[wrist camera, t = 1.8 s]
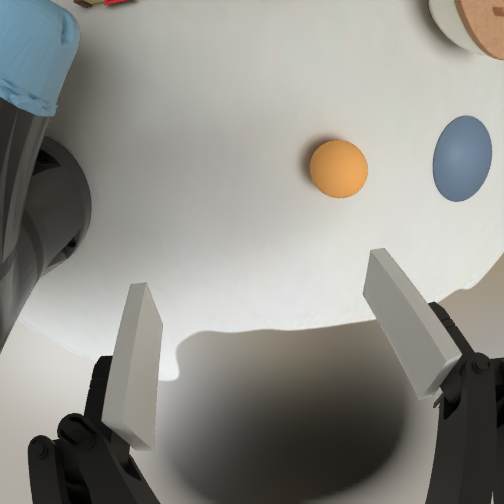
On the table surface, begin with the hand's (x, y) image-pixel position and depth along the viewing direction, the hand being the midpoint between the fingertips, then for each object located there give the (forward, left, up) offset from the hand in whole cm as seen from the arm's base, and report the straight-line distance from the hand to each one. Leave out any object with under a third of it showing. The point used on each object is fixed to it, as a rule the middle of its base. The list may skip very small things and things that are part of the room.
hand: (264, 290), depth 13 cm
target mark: (+30, 0, -18) cm, 34 cm away
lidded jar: (+26, +19, -18) cm, 36 cm away
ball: (+10, 0, -15) cm, 18 cm away
